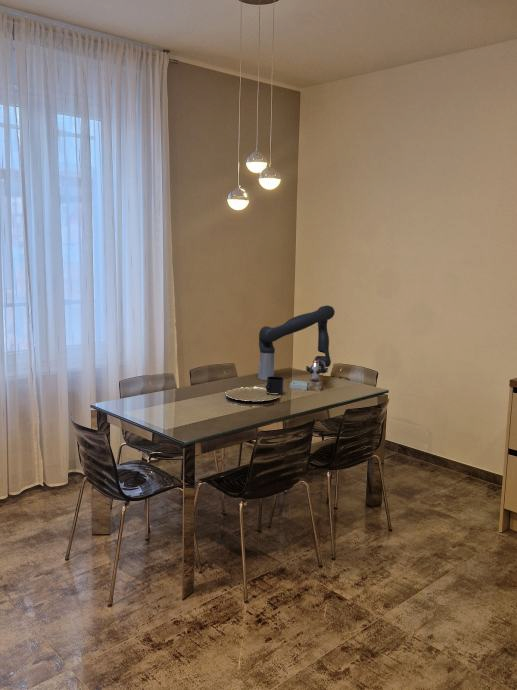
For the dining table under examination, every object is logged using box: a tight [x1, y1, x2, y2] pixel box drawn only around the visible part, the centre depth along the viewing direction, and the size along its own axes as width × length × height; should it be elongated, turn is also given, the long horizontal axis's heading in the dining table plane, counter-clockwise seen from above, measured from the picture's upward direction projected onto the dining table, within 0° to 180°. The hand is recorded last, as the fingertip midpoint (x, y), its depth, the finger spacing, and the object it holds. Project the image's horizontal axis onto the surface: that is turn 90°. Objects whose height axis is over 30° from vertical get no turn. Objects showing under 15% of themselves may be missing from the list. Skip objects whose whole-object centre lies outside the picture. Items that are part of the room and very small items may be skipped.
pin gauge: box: [311, 359, 319, 382], centre depth 371 cm, size 4×4×15 cm
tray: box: [289, 380, 308, 391], centre depth 375 cm, size 10×10×3 cm
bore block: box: [306, 378, 323, 391], centre depth 373 cm, size 8×8×5 cm
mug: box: [265, 375, 284, 395], centre depth 358 cm, size 9×12×9 cm
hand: (314, 372), depth 369 cm, fingers closed on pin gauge, 3 cm apart
